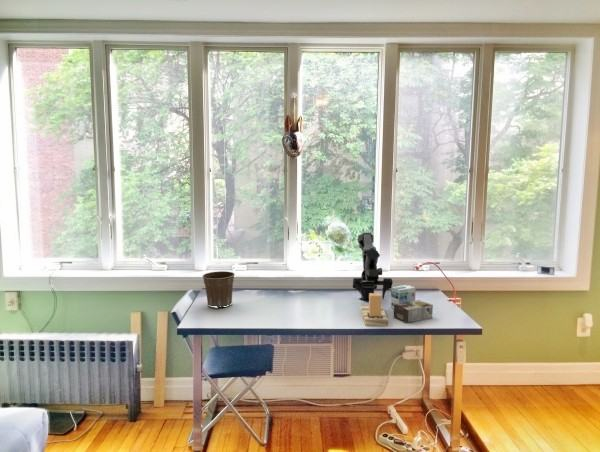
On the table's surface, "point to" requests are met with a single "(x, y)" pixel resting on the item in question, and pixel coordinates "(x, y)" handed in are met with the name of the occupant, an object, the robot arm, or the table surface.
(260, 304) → the table surface
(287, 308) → the table surface
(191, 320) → the table surface
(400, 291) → the light bulb box
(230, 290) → the plant pot
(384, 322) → the beige flat slab
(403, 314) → the coffee box
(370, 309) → the tan tall block
